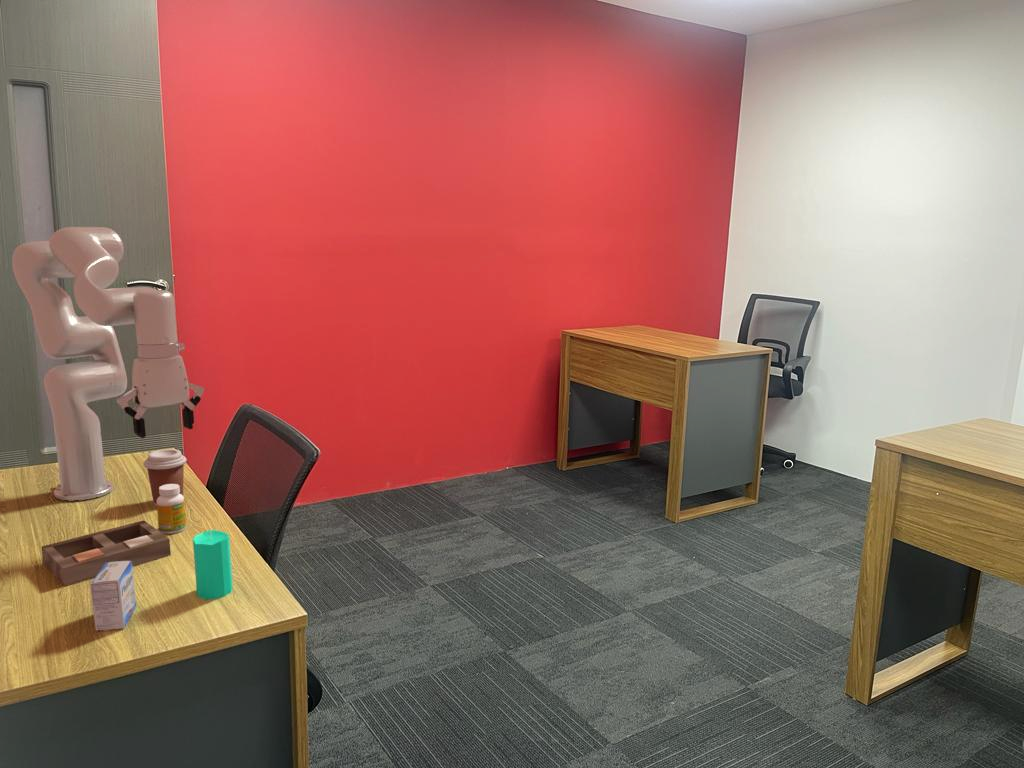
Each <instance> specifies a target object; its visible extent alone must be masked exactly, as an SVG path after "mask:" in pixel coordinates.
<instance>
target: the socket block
mask: <svg viewBox="0 0 1024 768" xmlns="http://www.w3.org/2000/svg"><path fill="white" fill-rule="evenodd" d="M170 540H171V539H170V538H169V537H168V536H166V534H163V533H161V532H160V531H159V529H157V528H155V527H154V526H152V525H151V524H150V523H148V522H147V521H145V520H141V521H136V522H132V523H129V524H128V523H127V524H124V525H120V526H116V527H112V528H108V529H104V530H100V531H98V532H92V533H89V534H85V535H81V536H76V537H73V538H69V539H64V540H61V541H58V542H57V541H56V542H54V543H49V544H46V545H41V557H42V563H43V565H44V566H45V567H46V568H47V569H48V570H49V571H50V572H51V573H52V574H53V575H54V576H55V578H57V580H58V581H59V582H60V583H61V584H62V585H63V586H64V587H67V586H70V585H73V584H77V583H81V582H85V581H87V580H91V579H95V577H96V576H97V574H98V573H99V572H100V570H101V569H102V567H103V566H104V564H105V563H109V562H116V561H132V566H133V567H136V566H139V565H141V564H142V565H143V564H146V563H148V562H153V561H156V560H160V559H162V558H165V557H166V558H167V557H169V556H171V553H172V552H171V543H170V542H171V541H170Z"/></svg>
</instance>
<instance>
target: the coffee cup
mask: <svg viewBox="0 0 1024 768" xmlns="http://www.w3.org/2000/svg"><path fill="white" fill-rule="evenodd" d="M186 463H187V457H186V456H185V455H183V454H182V451H181V450H179V449H175V448H164V449H158V450H157V449H156V450H155V451H151V452H149V454H147V458H146V459H144V462H143V467H144V468H145V469H147V474H148V480H149V485H150V490H151V497H152V503H153V505H154V506H155V505H156V506H155V507H157V499H158V497H160V496H161V495H160V493H159V487H160V486H162V485H166V484H178V485H179V487H180V493H179V494H181V495H183V496H184V471H185V470H184V469H185V468H184V467H185V464H186Z"/></svg>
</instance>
